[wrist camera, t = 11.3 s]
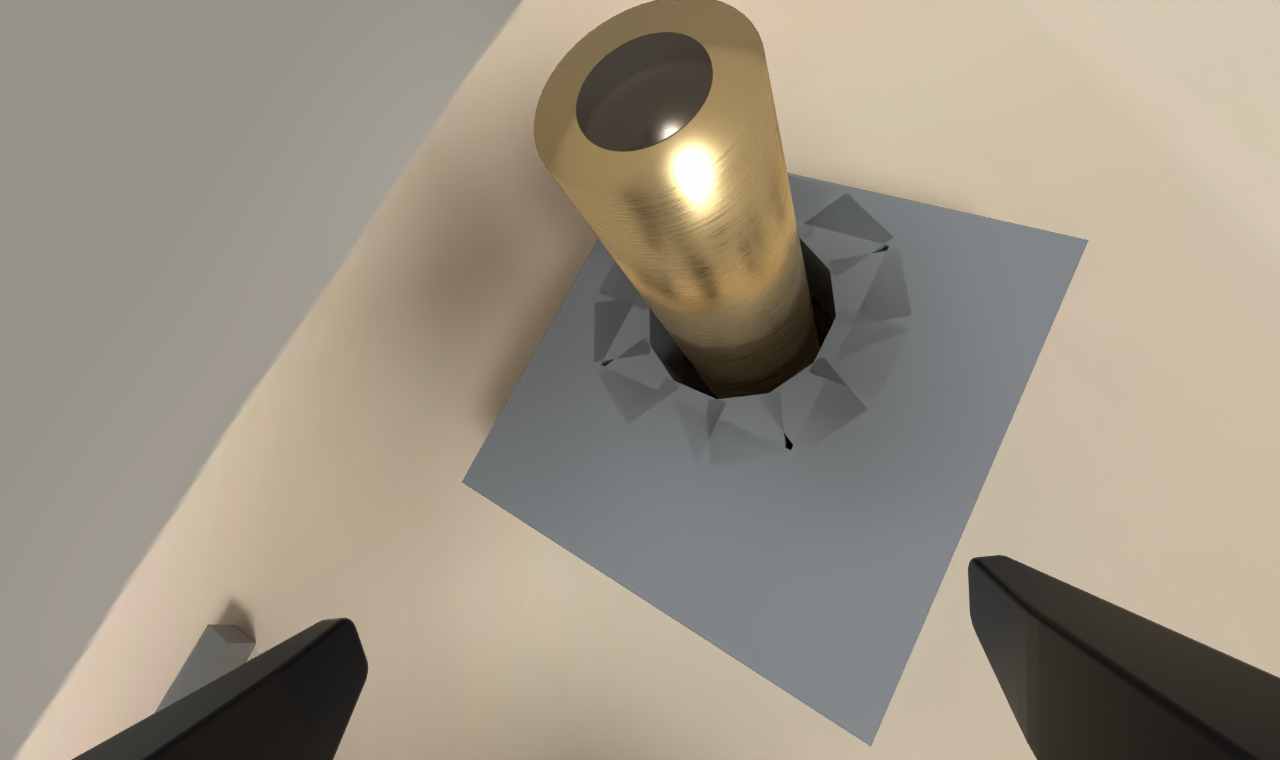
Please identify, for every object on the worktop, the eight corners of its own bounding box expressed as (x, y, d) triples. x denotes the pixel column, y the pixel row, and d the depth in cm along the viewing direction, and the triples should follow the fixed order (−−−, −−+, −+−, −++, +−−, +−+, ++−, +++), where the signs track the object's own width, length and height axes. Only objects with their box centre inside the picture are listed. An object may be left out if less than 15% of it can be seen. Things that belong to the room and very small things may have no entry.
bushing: (840, 323, 22) (808, 4, 10) (788, 430, 21) (691, 220, 9) (731, 287, 24) (602, -14, 12) (681, 385, 23) (493, 165, 11)
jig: (1048, 305, 19) (1088, 240, 16) (871, 716, 17) (870, 745, 14) (683, 205, 26) (652, 142, 22) (522, 498, 24) (461, 482, 20)
